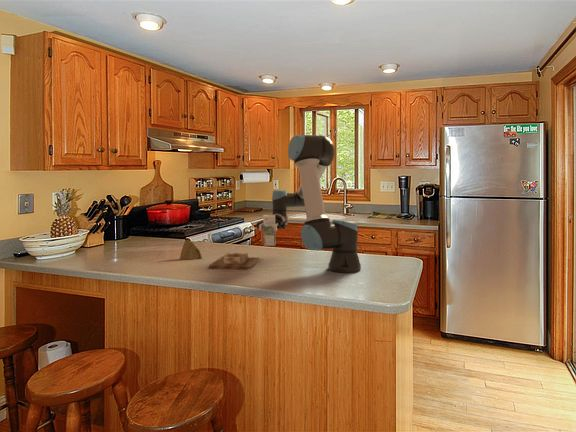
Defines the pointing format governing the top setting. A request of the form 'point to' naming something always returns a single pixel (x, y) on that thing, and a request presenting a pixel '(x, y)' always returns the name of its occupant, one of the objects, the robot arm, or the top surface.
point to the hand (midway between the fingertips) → (267, 228)
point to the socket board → (234, 261)
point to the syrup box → (269, 230)
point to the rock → (189, 251)
